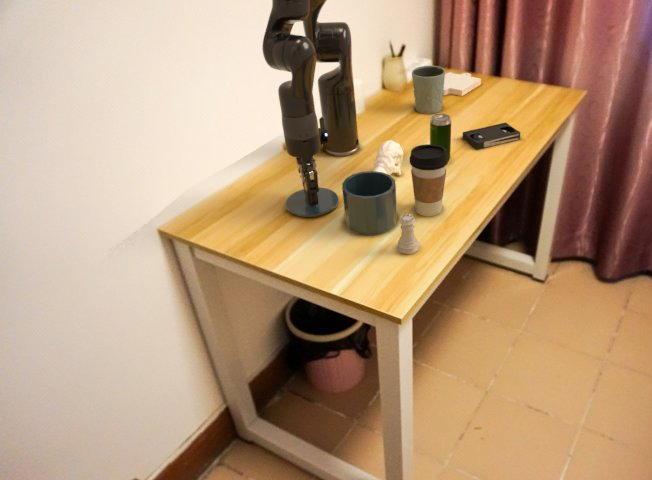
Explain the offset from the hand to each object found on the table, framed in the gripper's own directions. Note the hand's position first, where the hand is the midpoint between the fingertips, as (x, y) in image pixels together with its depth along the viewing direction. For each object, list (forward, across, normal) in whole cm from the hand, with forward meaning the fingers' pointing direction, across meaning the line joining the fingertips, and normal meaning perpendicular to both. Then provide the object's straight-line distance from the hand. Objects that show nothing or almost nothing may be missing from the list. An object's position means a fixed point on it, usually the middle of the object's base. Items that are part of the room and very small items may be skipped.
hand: (311, 198), depth 127 cm
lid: (+1, 0, 0) cm, 1 cm away
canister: (+2, +12, +11) cm, 16 cm away
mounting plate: (+2, -58, +62) cm, 85 cm away
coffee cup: (+2, +12, +25) cm, 28 cm away
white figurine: (+2, -5, +20) cm, 21 cm away
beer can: (+2, -9, +36) cm, 38 cm away
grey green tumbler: (+2, -43, +46) cm, 63 cm away
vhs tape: (+2, -16, +55) cm, 57 cm away
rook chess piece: (+2, +25, +15) cm, 29 cm away
